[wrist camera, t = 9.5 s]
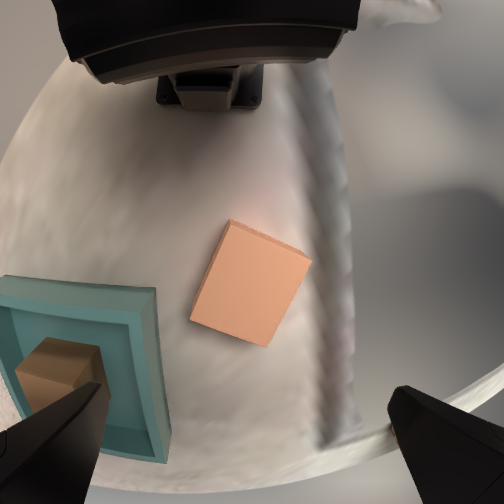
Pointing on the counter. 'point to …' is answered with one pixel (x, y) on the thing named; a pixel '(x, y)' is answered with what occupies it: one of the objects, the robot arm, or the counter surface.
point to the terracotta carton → (249, 284)
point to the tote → (111, 346)
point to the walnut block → (59, 371)
